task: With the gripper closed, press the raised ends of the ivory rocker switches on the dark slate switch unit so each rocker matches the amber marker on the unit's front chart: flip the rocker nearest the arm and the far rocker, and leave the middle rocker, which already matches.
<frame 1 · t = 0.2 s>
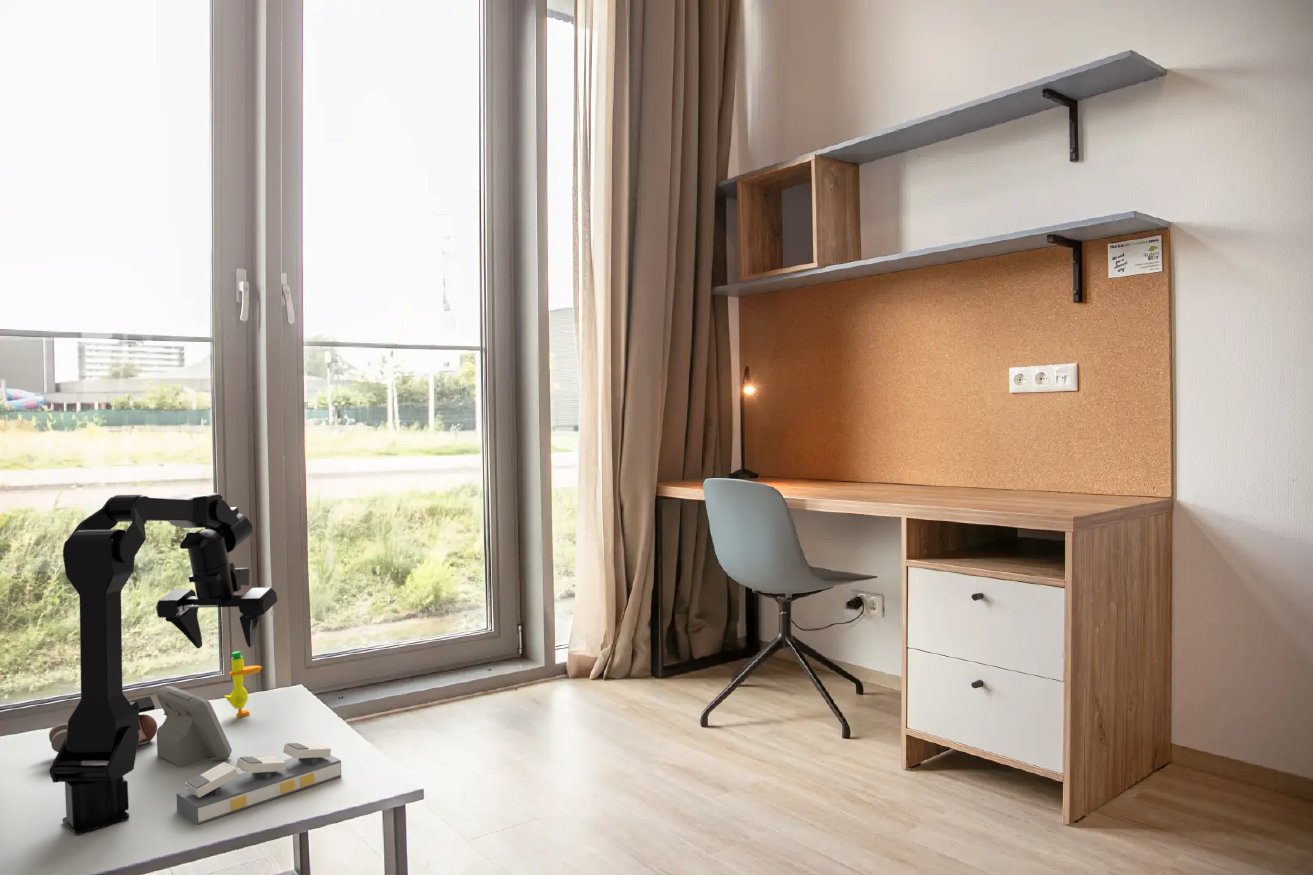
hand: (225, 646, 158), 15 cm above the table, tool pointing down, fingers open, 9 cm apart
switch unit: (262, 792, 132), on the table
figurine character: (105, 752, 152), on the table
toy figure: (244, 715, 169), on the table
rocker middle: (261, 763, 132), point 4 cm above the table, hinge at 14.0°
rocker near: (211, 778, 127), point 4 cm above the table, hinge at -14.0°
digital clock: (195, 755, 149), on the table
rocker far: (307, 749, 137), point 4 cm above the table, hinge at 14.0°
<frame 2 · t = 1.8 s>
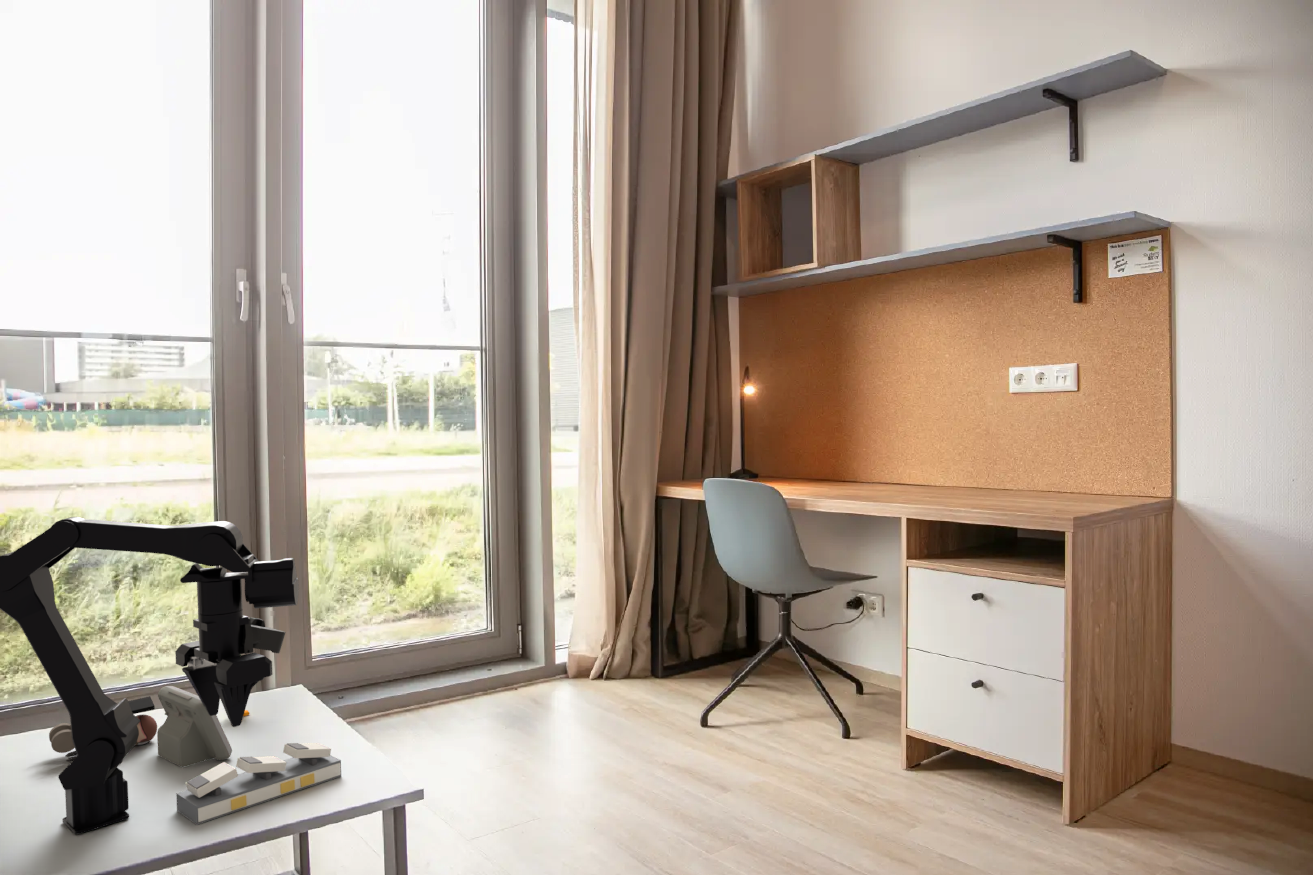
hand: (224, 720, 128), 12 cm above the table, tool pointing down, fingers open, 7 cm apart
nothing on the table moved.
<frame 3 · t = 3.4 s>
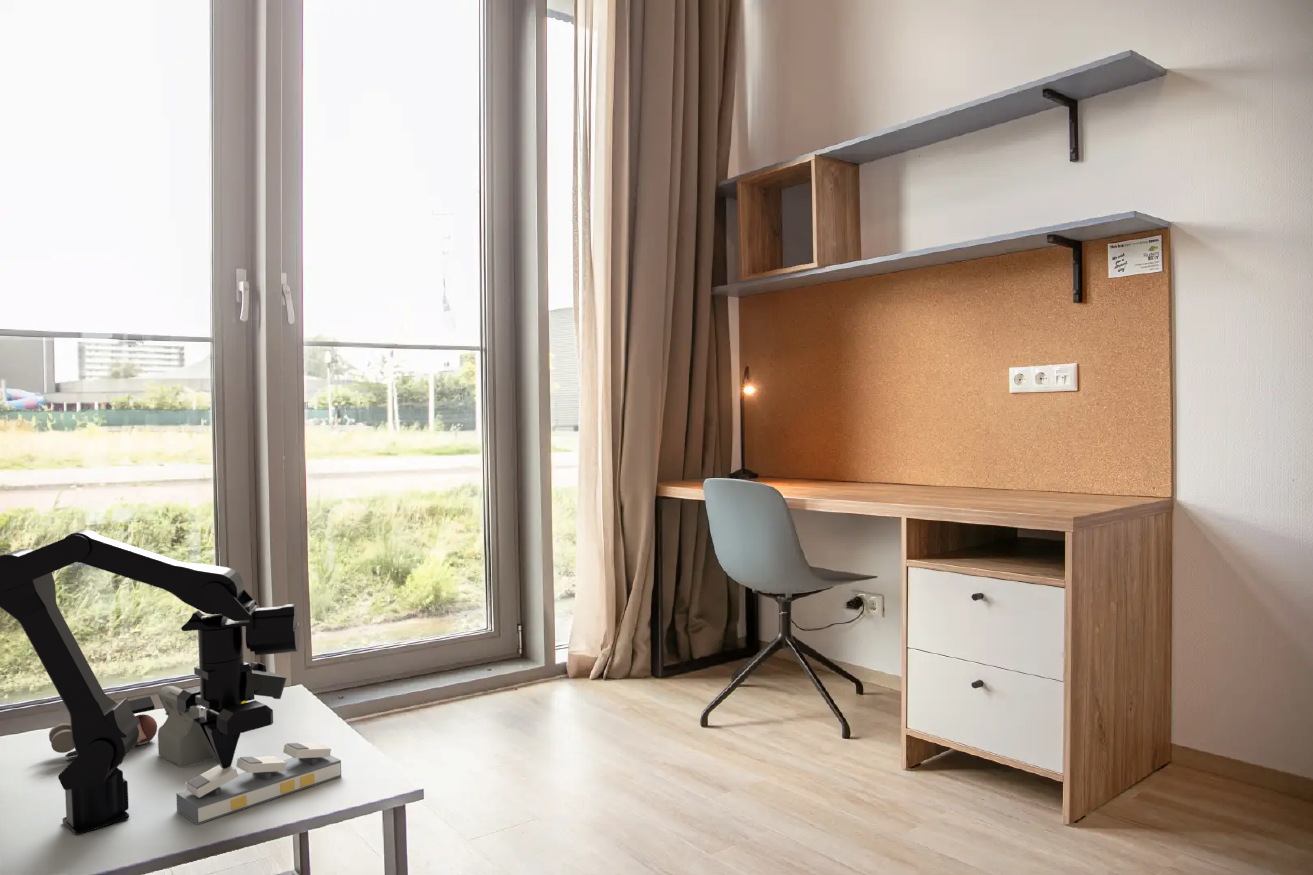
hand: (225, 767, 129), 5 cm above the table, tool pointing down, fingers closed, pressing on rocker near
rocker near: (211, 778, 127), point 4 cm above the table, hinge at -14.0°, touching gripper
everything else where it was.
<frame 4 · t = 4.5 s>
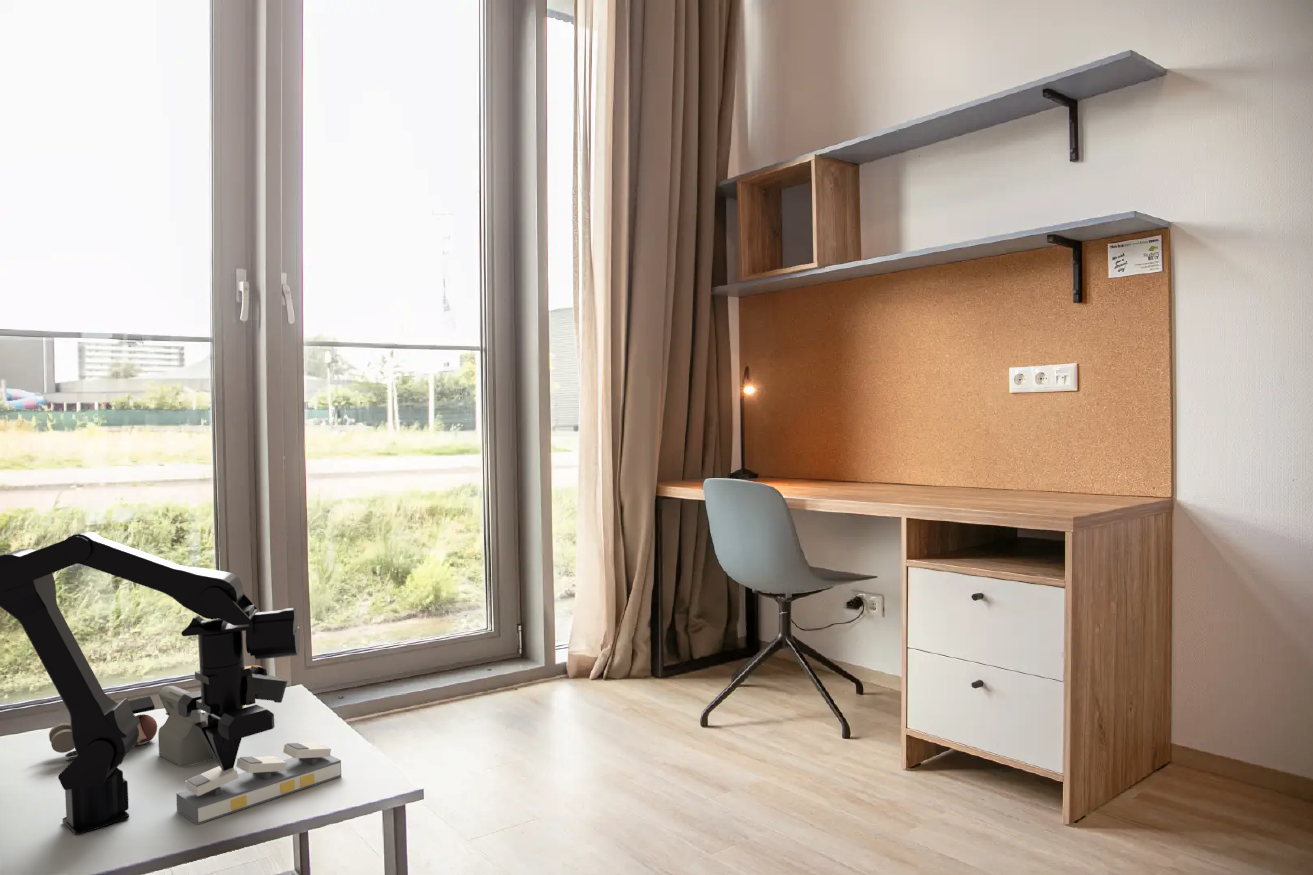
hand: (227, 771, 129), 5 cm above the table, tool pointing down, fingers closed, pressing on rocker near
rocker near: (211, 778, 127), point 4 cm above the table, hinge at -8.1°, touching gripper
everything else where it was.
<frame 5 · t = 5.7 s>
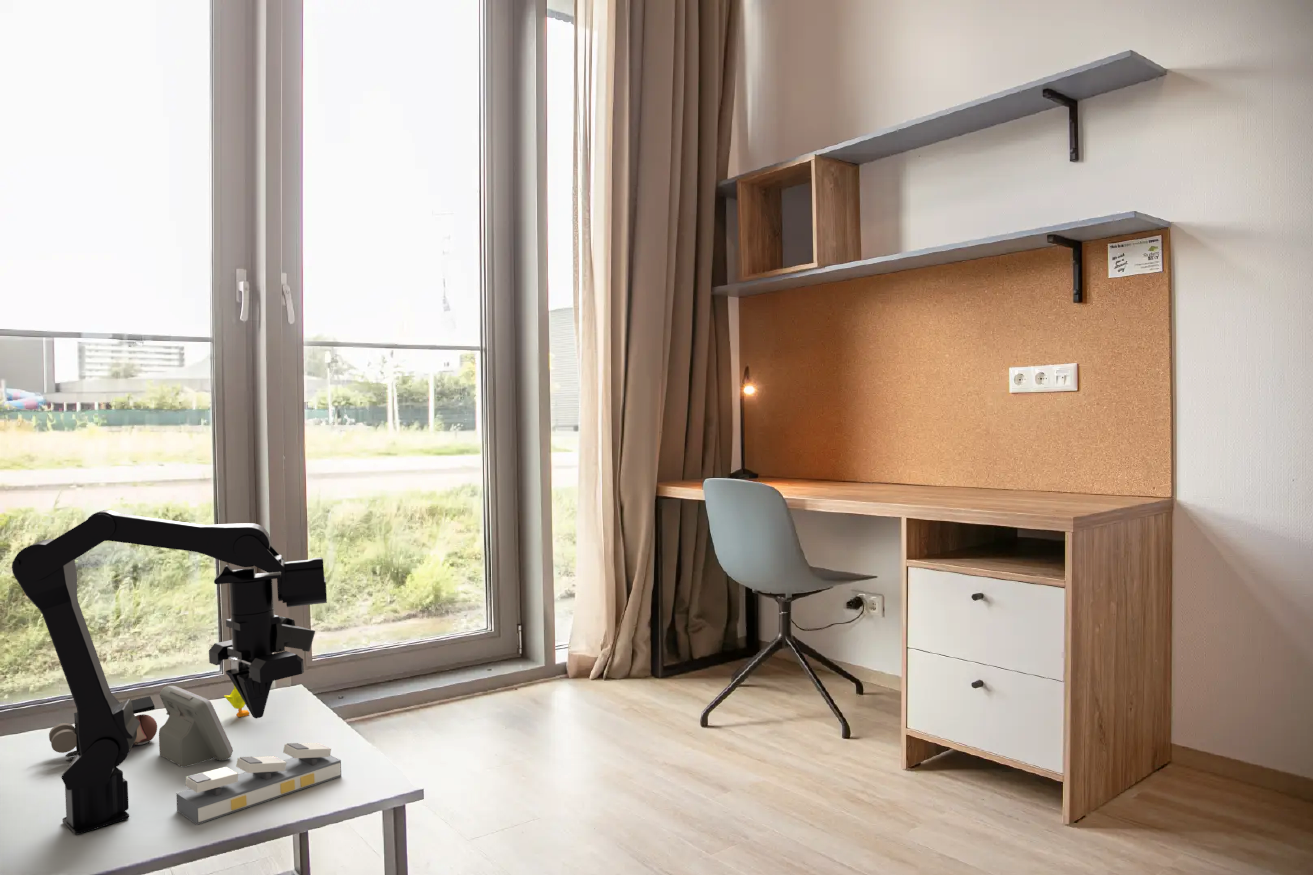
hand: (258, 717, 132), 11 cm above the table, tool pointing down, fingers closed
rocker near: (211, 778, 127), point 4 cm above the table, hinge at 2.5°
everything else where it was.
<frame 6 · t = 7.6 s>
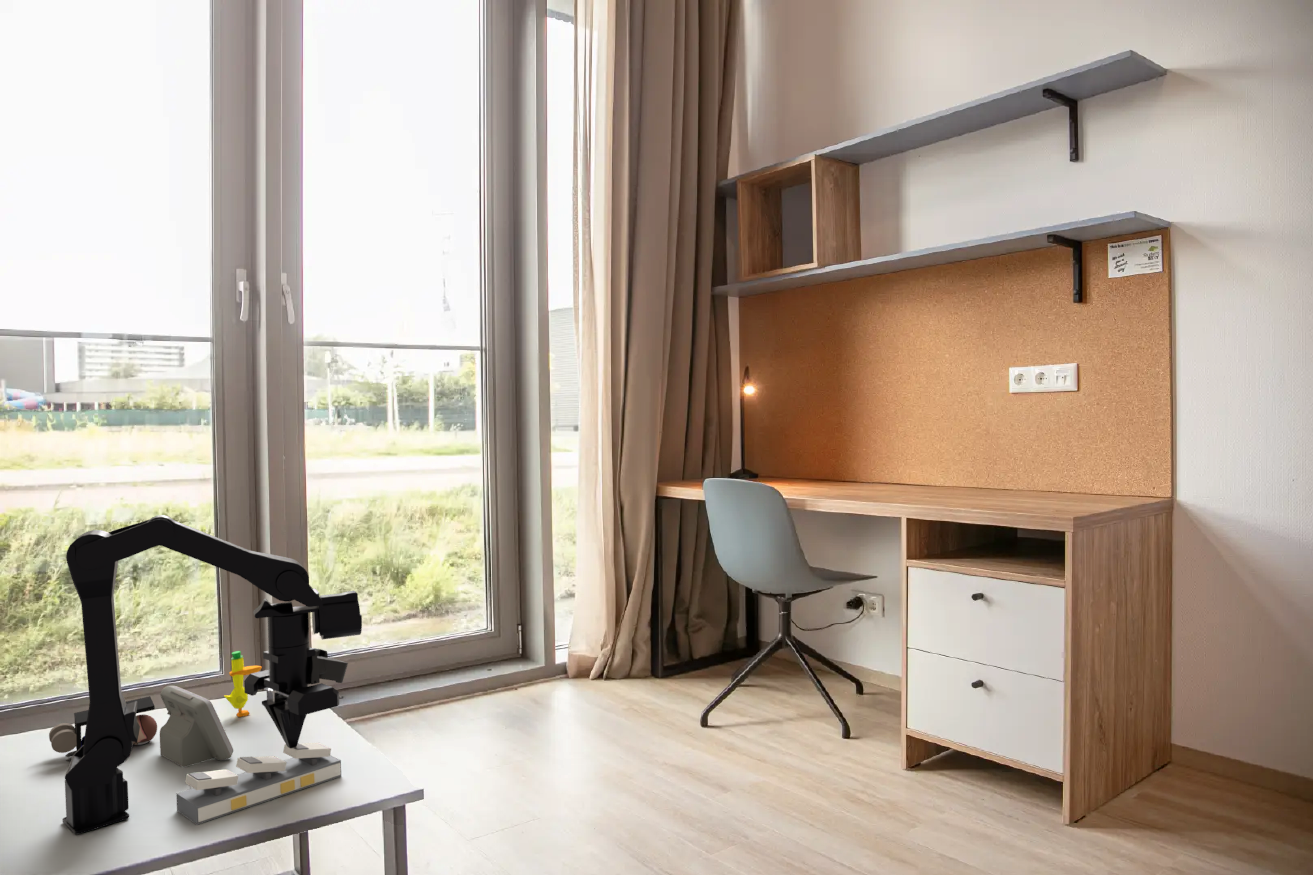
hand: (292, 747, 136), 5 cm above the table, tool pointing down, fingers closed, pressing on rocker far
rocker near: (211, 778, 127), point 4 cm above the table, hinge at 10.2°
rocker far: (307, 749, 137), point 4 cm above the table, hinge at 13.4°, touching gripper
everything else where it was.
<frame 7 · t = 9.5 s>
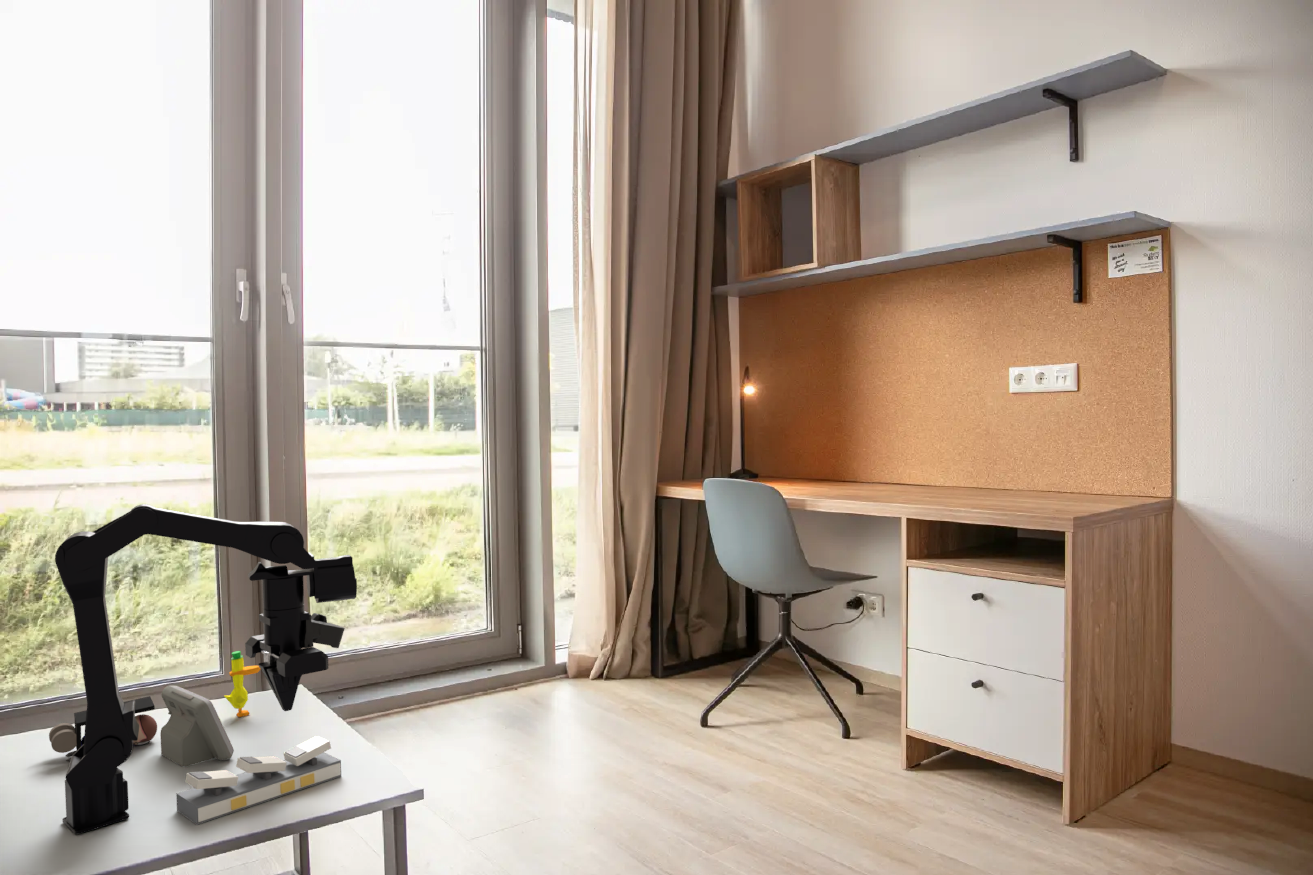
hand: (287, 710, 136), 11 cm above the table, tool pointing down, fingers closed
rocker near: (212, 778, 127), point 4 cm above the table, hinge at 12.8°
rocker far: (307, 749, 137), point 4 cm above the table, hinge at -11.8°
everything else where it was.
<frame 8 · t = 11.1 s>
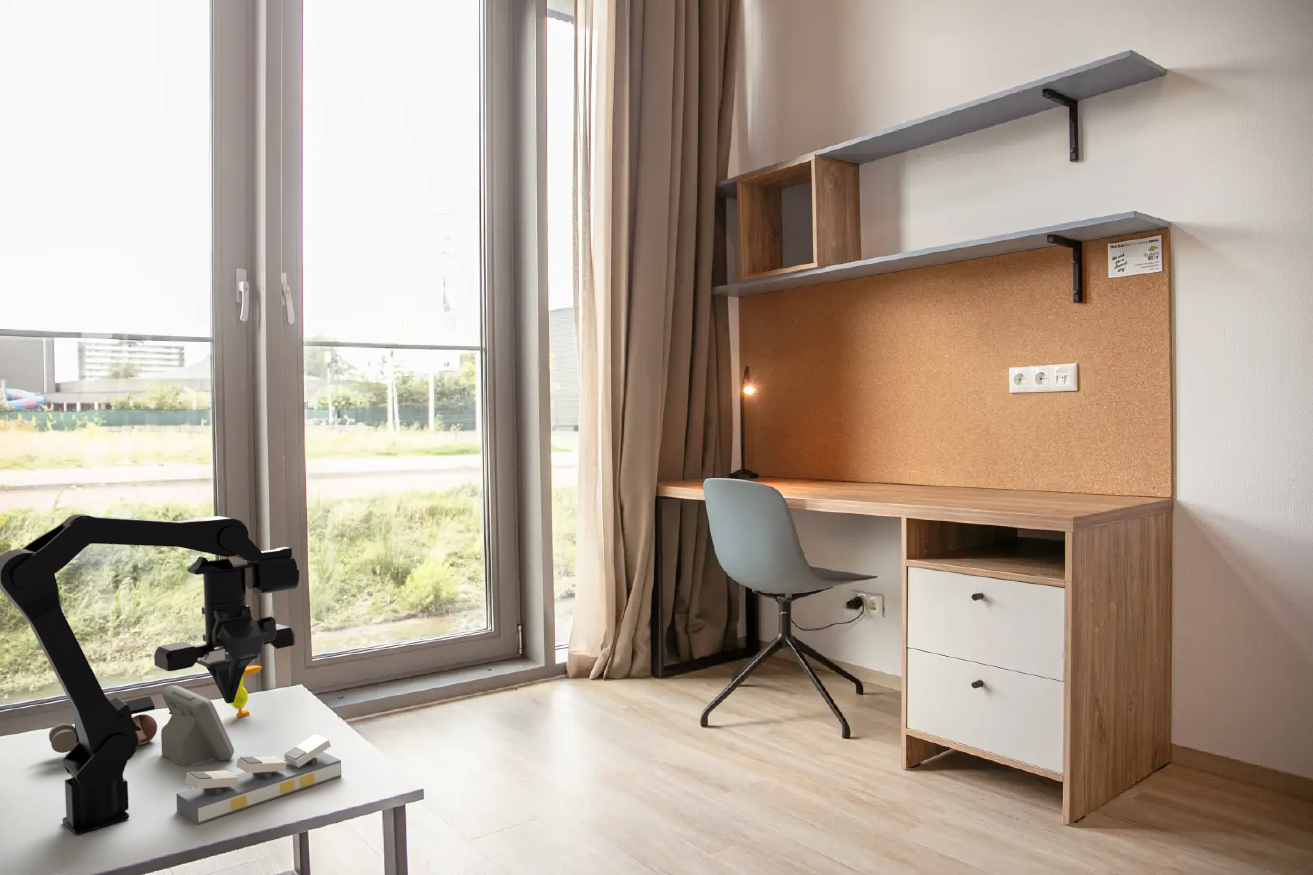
hand: (229, 702, 137), 12 cm above the table, tool pointing down, fingers closed
rocker near: (212, 778, 127), point 4 cm above the table, hinge at 13.6°
rocker far: (307, 749, 137), point 4 cm above the table, hinge at -18.2°
everything else where it was.
at the end: rocker near at +14° (first picture: -14°); rocker middle at +14° (first picture: +14°); rocker far at -19° (first picture: +14°) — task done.
